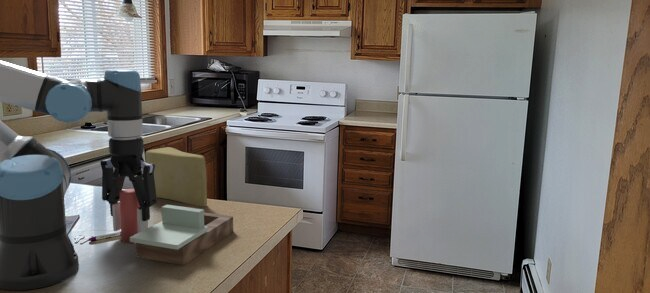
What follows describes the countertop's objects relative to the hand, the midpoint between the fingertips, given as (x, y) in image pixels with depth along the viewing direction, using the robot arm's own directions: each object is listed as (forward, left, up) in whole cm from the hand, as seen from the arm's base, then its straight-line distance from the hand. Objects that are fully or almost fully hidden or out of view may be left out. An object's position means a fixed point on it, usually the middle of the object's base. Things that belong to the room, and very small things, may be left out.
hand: (130, 231), depth 119 cm
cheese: (+33, +8, -2) cm, 34 cm away
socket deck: (+3, -14, -2) cm, 14 cm away
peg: (0, 0, -2) cm, 2 cm away
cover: (-4, -14, +2) cm, 15 cm away
